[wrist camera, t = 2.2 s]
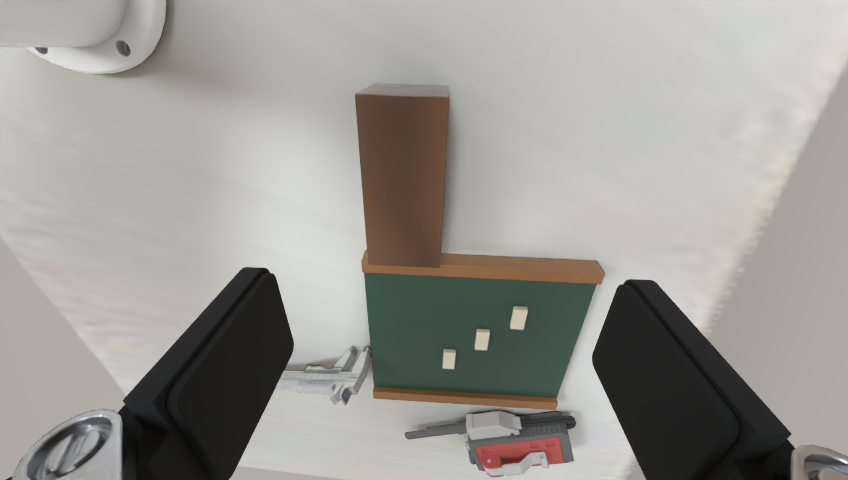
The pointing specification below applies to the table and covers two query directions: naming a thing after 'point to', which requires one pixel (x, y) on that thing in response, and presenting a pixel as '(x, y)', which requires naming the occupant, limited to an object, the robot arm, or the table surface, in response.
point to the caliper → (330, 377)
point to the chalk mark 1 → (449, 358)
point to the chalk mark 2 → (482, 339)
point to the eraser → (403, 171)
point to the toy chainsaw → (510, 440)
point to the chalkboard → (465, 313)
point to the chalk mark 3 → (518, 317)
